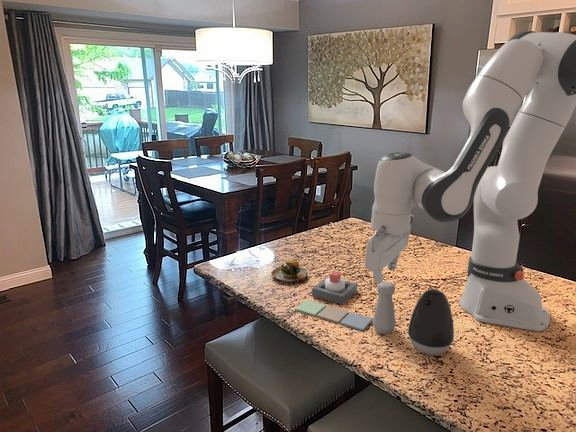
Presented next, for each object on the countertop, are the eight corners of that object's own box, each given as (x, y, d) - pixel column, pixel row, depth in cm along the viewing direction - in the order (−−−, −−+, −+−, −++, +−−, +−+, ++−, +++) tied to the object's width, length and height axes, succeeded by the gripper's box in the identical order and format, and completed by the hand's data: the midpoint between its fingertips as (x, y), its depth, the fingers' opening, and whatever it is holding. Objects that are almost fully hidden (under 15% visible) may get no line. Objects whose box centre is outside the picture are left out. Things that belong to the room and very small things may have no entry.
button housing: (356, 291, 132) (357, 283, 132) (342, 304, 124) (342, 296, 124) (327, 283, 138) (327, 276, 137) (312, 296, 130) (312, 288, 129)
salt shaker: (393, 325, 113) (397, 279, 110) (396, 337, 108) (400, 289, 104) (371, 324, 114) (373, 278, 110) (372, 336, 108) (375, 288, 105)
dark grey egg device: (398, 348, 103) (402, 290, 99) (420, 332, 110) (425, 276, 106) (438, 367, 96) (445, 305, 92) (459, 348, 103) (466, 290, 99)
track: (372, 320, 116) (372, 318, 116) (362, 331, 111) (362, 329, 110) (306, 301, 126) (306, 299, 126) (294, 310, 121) (294, 308, 121)
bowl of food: (266, 273, 146) (266, 252, 144) (299, 268, 150) (299, 248, 148) (279, 288, 135) (278, 265, 133) (313, 282, 140) (313, 260, 137)
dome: (348, 290, 132) (348, 272, 130) (339, 298, 127) (339, 279, 125) (330, 286, 135) (330, 268, 133) (321, 293, 130) (321, 274, 128)
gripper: (387, 236, 93) (382, 294, 96) (416, 214, 109) (410, 265, 113) (360, 230, 96) (355, 287, 100) (392, 210, 112) (387, 260, 116)
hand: (385, 275), depth 107 cm, fingers open, 8 cm apart
